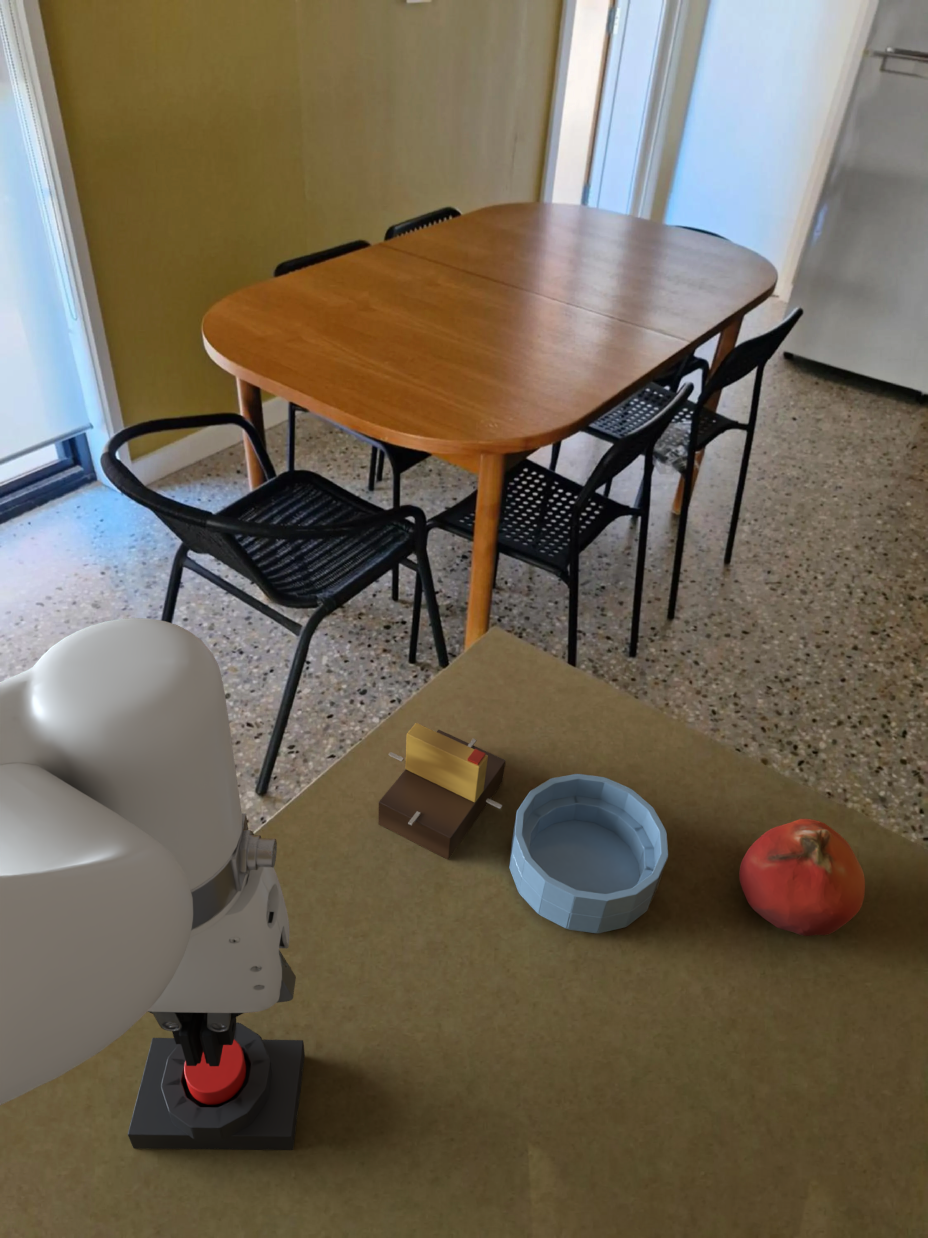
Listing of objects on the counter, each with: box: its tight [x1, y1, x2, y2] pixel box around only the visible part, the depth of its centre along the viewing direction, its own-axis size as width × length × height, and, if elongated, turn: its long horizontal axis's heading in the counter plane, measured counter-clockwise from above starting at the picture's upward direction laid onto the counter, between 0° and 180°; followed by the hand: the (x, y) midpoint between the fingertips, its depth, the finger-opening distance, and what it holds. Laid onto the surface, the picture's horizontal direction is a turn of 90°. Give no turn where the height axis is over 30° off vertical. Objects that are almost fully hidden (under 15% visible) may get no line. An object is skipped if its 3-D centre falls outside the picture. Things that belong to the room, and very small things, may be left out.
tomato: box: [738, 818, 866, 937], centre depth 71 cm, size 9×9×8 cm
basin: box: [508, 773, 669, 934], centre depth 73 cm, size 12×12×5 cm
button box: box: [127, 1021, 306, 1151], centre depth 57 cm, size 10×6×4 cm, turn 91°
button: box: [184, 1039, 246, 1105], centre depth 56 cm, size 4×4×2 cm
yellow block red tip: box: [404, 722, 488, 802], centre depth 75 cm, size 7×2×5 cm, turn 61°
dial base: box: [377, 729, 506, 861], centre depth 78 cm, size 11×11×3 cm
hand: (208, 1041), depth 53 cm, fingers closed
